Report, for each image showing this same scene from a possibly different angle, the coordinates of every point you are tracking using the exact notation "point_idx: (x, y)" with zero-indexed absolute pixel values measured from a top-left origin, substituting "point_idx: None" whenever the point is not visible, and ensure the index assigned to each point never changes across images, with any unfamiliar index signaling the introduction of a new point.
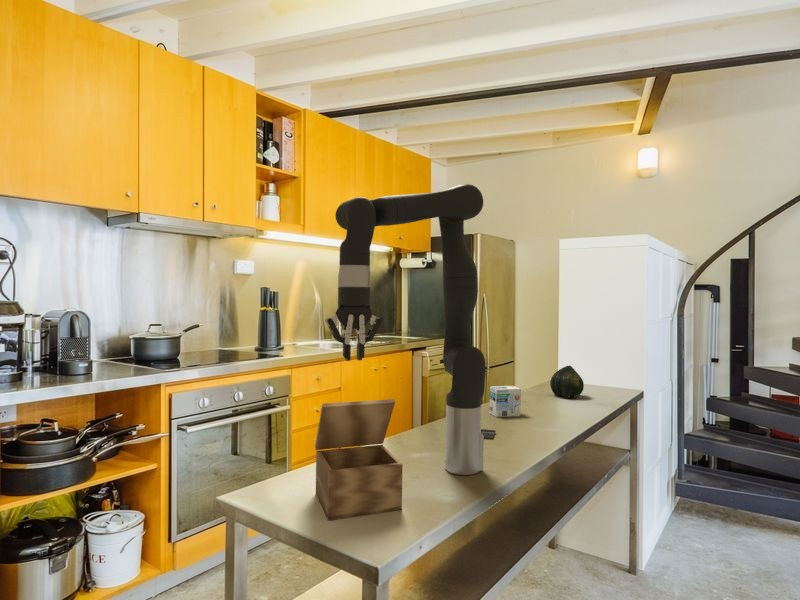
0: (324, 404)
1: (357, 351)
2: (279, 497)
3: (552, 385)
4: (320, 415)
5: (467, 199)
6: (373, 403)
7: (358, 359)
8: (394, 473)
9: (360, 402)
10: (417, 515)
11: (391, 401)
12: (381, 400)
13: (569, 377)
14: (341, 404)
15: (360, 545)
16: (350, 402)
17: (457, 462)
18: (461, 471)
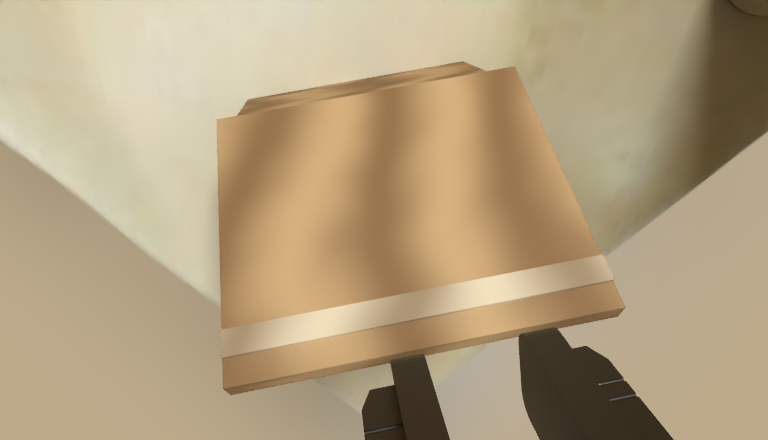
0: (234, 388)
1: (557, 420)
2: (132, 108)
3: None
4: (221, 302)
5: None
6: (500, 339)
7: (525, 392)
8: None
9: (432, 349)
10: None
11: (601, 316)
12: (551, 323)
13: None
14: (327, 373)
15: (357, 369)
16: (378, 358)
17: (764, 4)
18: (751, 11)
